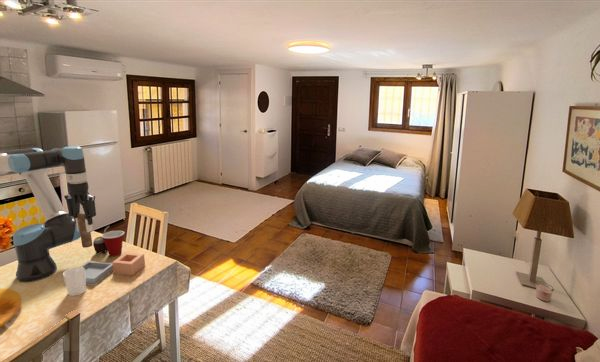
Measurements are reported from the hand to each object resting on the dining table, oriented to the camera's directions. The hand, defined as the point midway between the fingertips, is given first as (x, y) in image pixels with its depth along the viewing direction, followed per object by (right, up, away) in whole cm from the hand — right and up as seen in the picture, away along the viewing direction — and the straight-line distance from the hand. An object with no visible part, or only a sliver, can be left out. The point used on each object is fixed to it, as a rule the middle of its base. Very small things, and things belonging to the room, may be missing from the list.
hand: (85, 230), depth 148 cm
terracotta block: (+14, -21, +12) cm, 28 cm away
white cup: (+1, -26, -7) cm, 27 cm away
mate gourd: (-9, -16, +28) cm, 34 cm away
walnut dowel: (0, -7, +2) cm, 8 cm away
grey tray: (-1, -22, +6) cm, 23 cm away
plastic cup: (-1, -17, +27) cm, 32 cm away
